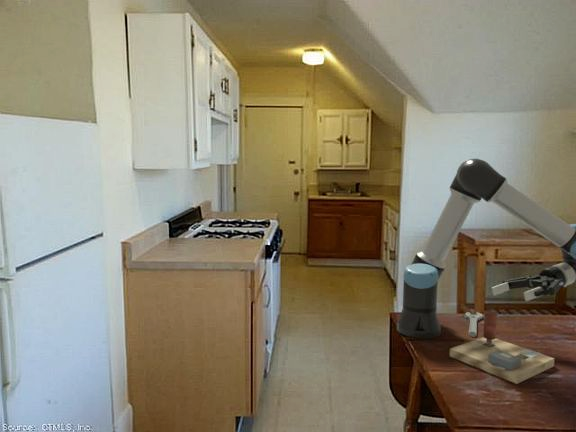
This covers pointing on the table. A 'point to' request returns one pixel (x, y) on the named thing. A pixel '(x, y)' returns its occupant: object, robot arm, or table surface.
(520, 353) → the board
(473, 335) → the adjustable wrench
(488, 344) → the awl
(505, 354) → the block
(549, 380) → the table surface
